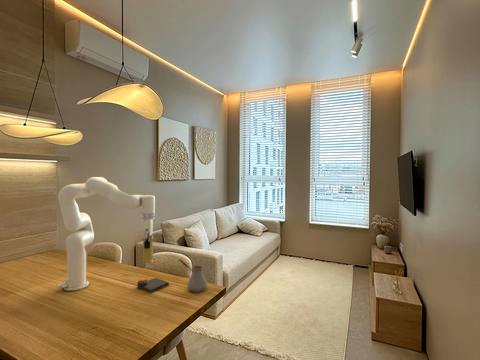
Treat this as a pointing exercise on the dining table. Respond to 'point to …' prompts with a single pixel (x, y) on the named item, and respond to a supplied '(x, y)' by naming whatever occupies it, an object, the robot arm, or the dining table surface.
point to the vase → (148, 252)
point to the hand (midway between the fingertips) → (148, 246)
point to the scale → (152, 285)
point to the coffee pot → (196, 278)
